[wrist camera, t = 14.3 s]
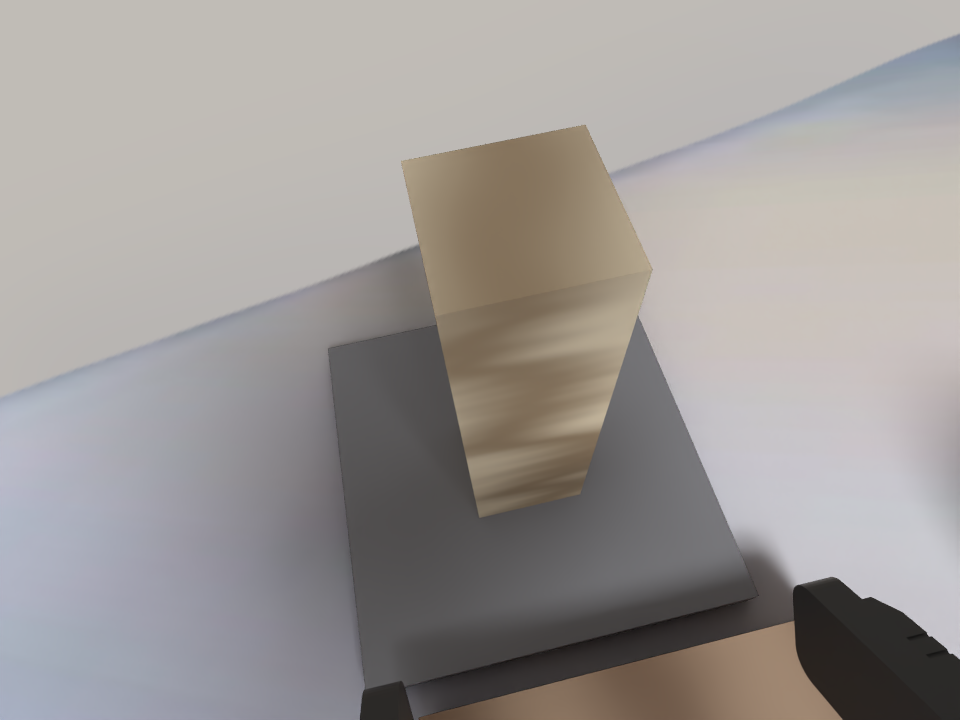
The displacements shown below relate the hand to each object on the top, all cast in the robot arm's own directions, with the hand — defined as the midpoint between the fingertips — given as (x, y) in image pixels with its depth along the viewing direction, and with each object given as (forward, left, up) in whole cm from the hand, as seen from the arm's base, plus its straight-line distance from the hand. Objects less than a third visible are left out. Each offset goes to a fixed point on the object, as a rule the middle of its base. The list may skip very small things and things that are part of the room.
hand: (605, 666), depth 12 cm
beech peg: (0, -8, -9) cm, 12 cm away
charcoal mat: (0, -8, -10) cm, 13 cm away
